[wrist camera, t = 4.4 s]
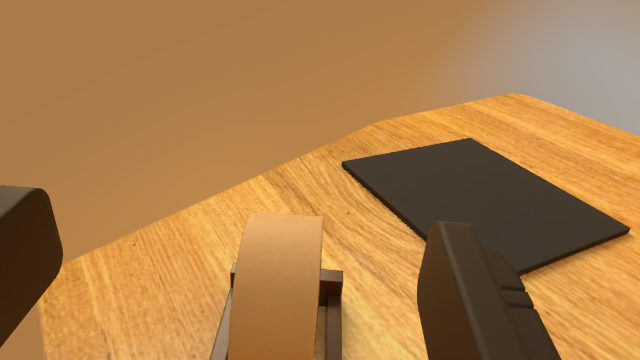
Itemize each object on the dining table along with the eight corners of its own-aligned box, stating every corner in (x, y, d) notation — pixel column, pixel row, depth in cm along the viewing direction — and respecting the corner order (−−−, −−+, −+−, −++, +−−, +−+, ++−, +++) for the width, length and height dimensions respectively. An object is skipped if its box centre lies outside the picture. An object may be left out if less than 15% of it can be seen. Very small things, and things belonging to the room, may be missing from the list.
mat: (341, 166, 53) (341, 161, 52) (469, 141, 62) (470, 137, 61) (480, 290, 36) (482, 285, 36) (628, 233, 45) (630, 228, 45)
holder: (191, 439, 25) (188, 410, 23) (234, 287, 35) (233, 261, 33) (340, 450, 25) (344, 422, 23) (339, 295, 35) (343, 270, 33)
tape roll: (228, 427, 25) (222, 292, 20) (256, 297, 34) (257, 180, 29) (307, 433, 25) (321, 300, 20) (315, 301, 34) (326, 185, 29)
